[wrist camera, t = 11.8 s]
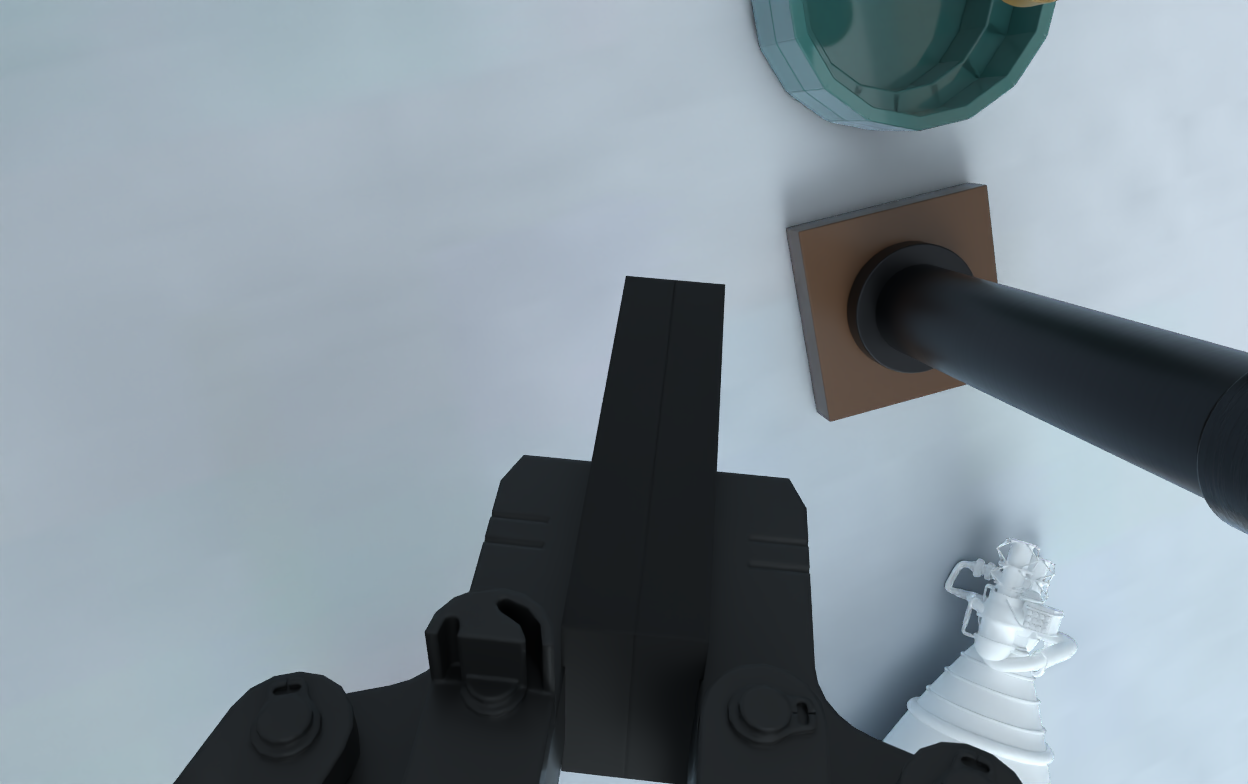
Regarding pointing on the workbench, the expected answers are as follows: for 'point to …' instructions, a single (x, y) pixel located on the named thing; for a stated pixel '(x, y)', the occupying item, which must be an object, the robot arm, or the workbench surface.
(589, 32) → the workbench surface
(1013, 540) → the rocket engine
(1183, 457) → the black post
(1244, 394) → the spout
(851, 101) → the basin
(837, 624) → the workbench surface
